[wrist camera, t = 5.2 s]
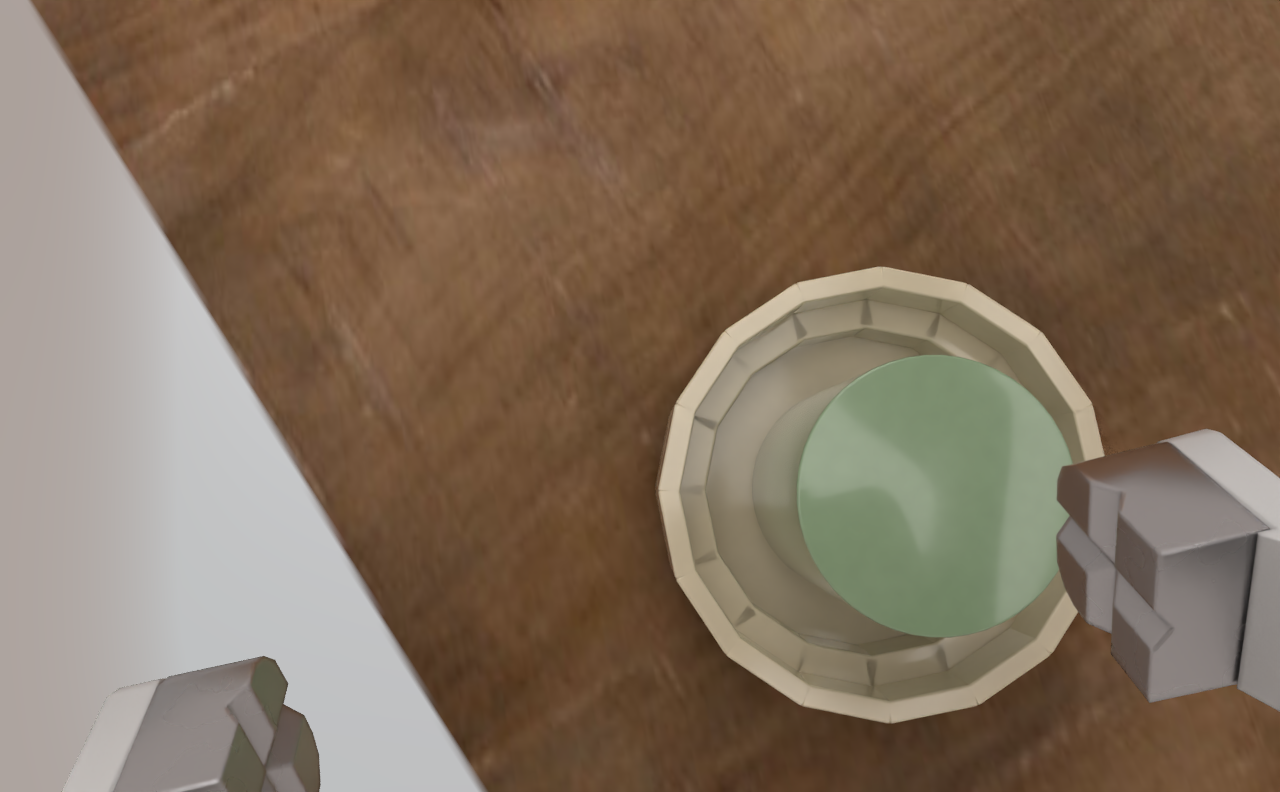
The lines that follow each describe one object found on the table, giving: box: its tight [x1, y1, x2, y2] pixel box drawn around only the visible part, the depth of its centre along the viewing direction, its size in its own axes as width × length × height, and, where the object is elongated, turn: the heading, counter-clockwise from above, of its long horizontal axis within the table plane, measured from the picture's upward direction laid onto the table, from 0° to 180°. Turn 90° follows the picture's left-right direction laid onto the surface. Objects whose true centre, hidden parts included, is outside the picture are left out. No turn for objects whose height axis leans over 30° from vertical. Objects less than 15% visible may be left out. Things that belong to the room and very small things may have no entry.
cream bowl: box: [655, 266, 1104, 723], centre depth 29 cm, size 12×12×4 cm
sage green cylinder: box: [752, 355, 1073, 638], centre depth 27 cm, size 6×6×8 cm
